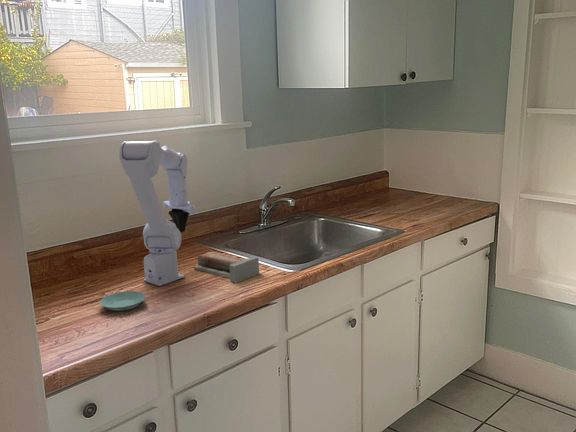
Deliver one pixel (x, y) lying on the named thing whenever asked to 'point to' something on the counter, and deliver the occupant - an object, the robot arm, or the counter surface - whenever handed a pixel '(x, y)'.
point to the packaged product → (216, 263)
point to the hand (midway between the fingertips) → (181, 231)
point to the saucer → (122, 300)
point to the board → (244, 269)
